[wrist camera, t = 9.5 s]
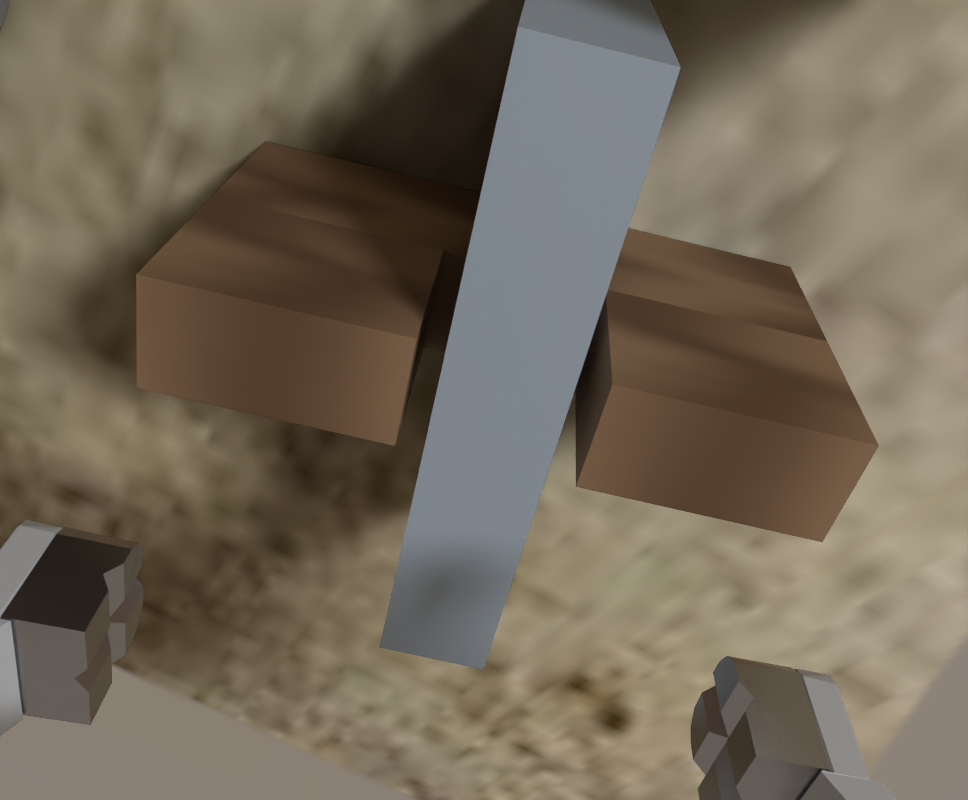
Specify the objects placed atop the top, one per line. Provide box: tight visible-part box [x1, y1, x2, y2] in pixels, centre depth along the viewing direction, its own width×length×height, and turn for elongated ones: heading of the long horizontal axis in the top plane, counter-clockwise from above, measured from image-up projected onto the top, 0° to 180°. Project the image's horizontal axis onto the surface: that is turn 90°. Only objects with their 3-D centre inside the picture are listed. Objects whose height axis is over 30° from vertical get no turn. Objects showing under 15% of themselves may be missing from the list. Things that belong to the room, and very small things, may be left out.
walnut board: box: [136, 142, 879, 542], centre depth 20 cm, size 14×2×8 cm, turn 78°
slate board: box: [380, 0, 681, 669], centre depth 20 cm, size 14×2×8 cm, turn 168°
